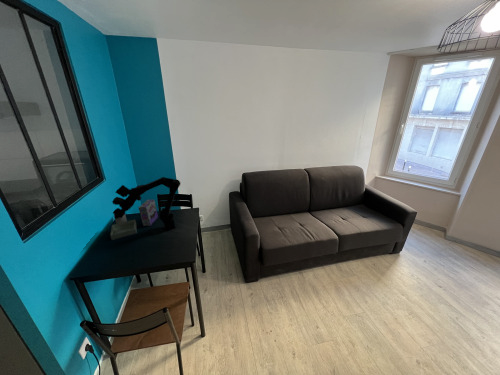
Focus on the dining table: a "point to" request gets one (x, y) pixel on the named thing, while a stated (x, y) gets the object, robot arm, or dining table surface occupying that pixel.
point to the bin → (123, 230)
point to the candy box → (148, 212)
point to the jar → (121, 221)
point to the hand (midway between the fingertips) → (117, 215)
